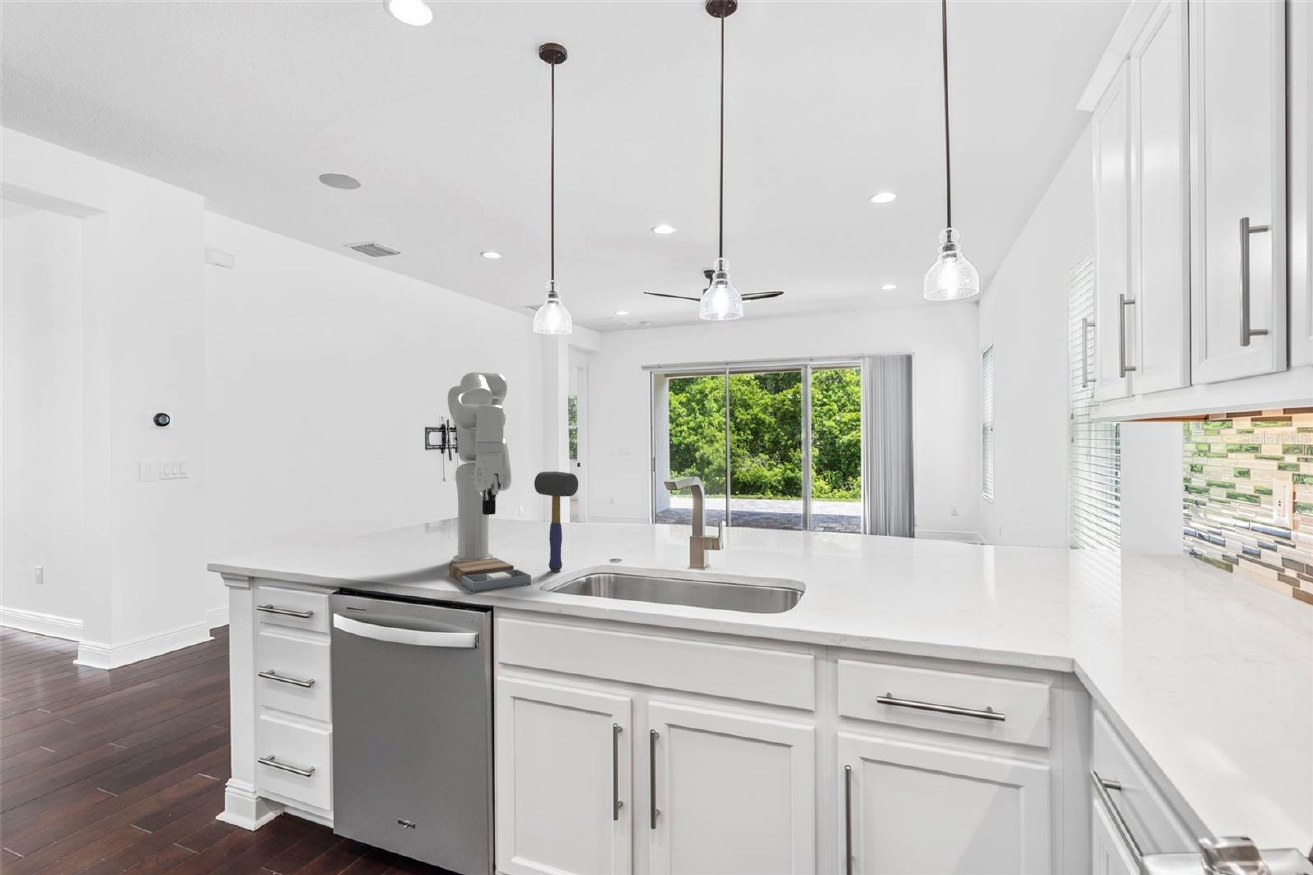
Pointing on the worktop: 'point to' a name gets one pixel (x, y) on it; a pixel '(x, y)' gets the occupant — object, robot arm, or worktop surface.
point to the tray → (495, 581)
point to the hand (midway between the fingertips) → (488, 514)
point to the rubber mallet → (556, 507)
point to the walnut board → (477, 567)
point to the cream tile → (497, 576)
